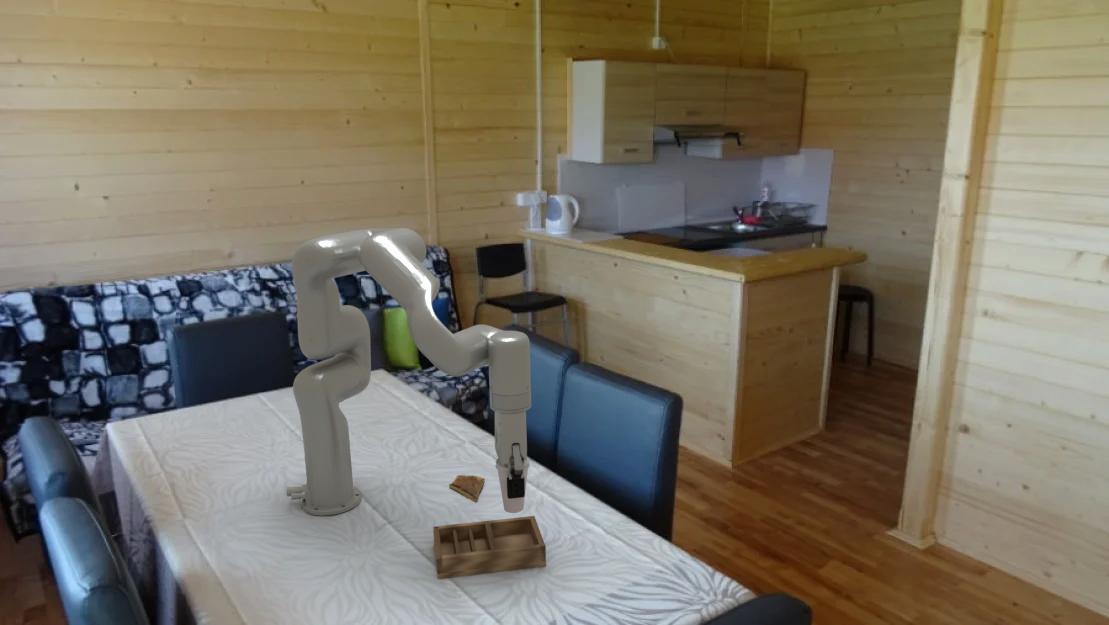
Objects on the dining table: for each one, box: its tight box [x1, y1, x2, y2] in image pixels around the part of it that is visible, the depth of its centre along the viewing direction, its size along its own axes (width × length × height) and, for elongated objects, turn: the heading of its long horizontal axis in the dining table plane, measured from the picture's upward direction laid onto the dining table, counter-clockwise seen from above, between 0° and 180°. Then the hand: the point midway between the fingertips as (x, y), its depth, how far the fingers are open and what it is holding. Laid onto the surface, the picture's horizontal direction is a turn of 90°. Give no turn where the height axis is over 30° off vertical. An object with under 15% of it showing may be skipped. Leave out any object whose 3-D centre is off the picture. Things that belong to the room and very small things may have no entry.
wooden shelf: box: [432, 515, 547, 580], centre depth 151 cm, size 20×12×4 cm, turn 101°
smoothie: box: [495, 457, 531, 514], centre depth 148 cm, size 6×6×14 cm
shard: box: [448, 474, 486, 503], centre depth 178 cm, size 11×8×2 cm
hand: (513, 488), depth 149 cm, fingers closed on smoothie, 6 cm apart
